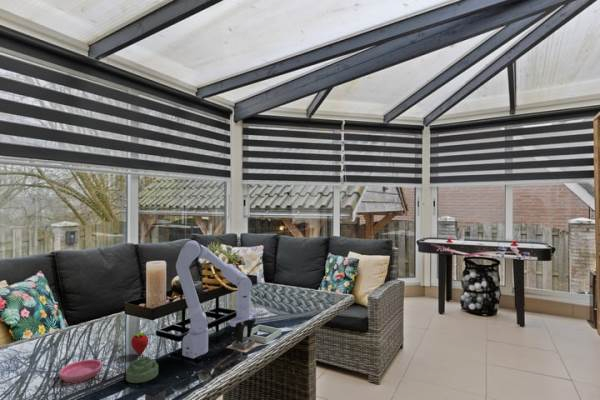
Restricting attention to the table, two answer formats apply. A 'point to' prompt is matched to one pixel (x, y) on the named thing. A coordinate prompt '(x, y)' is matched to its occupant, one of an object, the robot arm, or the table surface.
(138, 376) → the decorative artifact
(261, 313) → the adjustable wrench
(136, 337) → the strawberry
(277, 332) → the bin
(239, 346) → the socket block
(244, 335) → the strut
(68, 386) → the table surface
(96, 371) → the saucer
